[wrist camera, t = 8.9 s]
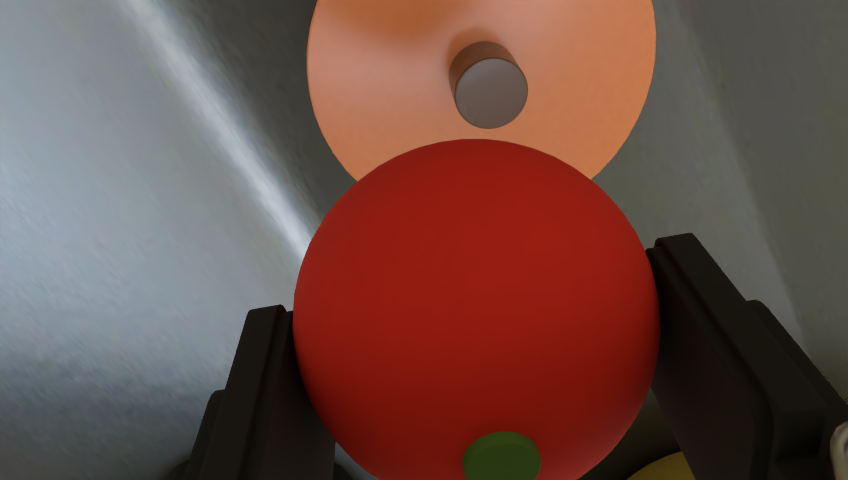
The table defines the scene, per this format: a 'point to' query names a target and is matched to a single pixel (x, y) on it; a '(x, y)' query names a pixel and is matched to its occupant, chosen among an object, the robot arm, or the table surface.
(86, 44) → the table surface
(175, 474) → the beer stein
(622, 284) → the tomato
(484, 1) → the pot lid
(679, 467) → the planter bowl
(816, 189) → the table surface
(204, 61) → the table surface
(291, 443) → the robot arm
